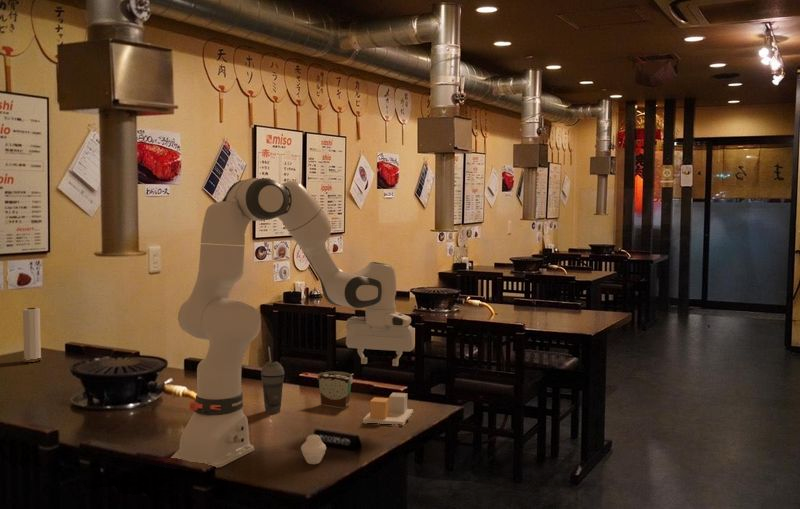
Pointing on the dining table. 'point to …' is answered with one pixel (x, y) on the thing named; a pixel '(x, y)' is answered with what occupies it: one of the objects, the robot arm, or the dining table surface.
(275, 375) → the beverage cup
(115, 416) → the dining table surface
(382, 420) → the plate
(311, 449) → the muffin
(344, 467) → the dining table surface
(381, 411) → the orange cube
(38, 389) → the dining table surface
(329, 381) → the food container
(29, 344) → the paper towel roll
